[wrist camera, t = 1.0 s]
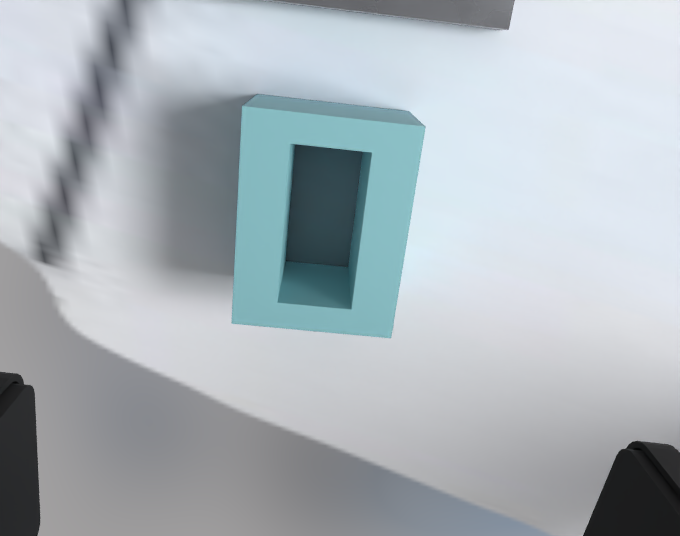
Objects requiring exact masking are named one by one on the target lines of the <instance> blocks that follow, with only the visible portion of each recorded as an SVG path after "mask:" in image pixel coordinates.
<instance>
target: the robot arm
mask: <svg viewBox="0 0 680 536" xmlns="http://www.w3.org/2000/svg"><path fill="white" fill-rule="evenodd" d="M39 526H40V503H39V480H38V458H37V436H36V414H35V393H34V389H33V387H32V386H31V385H24V382H23V379H22V377H21V375H19V374H13V373H5V372H0V536H37V535H38V531H39ZM583 536H680V453H679V451H678V450H677V449H675V448H674V447H673V446H671V445H668V444H660V443H650V442H641V441H635V442H632V443H630V444H629V445H628V447H627V448H626V449H622V450H621V451H619V453H618V454H617V456H616V458H615V461H614V463H613V466H612V468H611V470H610V473H609V475H608V478H607V480H606V482H605V485H604V487H603V489H602V492H601V494H600V497H599V499H598V501H597V504H596V506H595V508H594V511H593V513H592V516H591V518H590V520H589V523H588V525H587V528H586V530H585V532H584V535H583Z"/></svg>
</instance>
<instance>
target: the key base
mask: <svg viewBox="0 0 680 536" xmlns="http://www.w3.org/2000/svg"><path fill="white" fill-rule="evenodd" d="M262 1H270V2H278V3H286V4H294V5H302V6H310V7H319V8H327V9H335V10H343V11H351V12H359V13H367V14H375V15H384V16H392V17H400V18H408V19H416V20H424V21H432V22H440V23H448V24H457V25H465V26H473V27H481V28H489V29H497V30H509V25H510V20H511V15H512V10H513V5H514V1H515V0H262Z"/></svg>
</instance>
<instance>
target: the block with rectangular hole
mask: <svg viewBox="0 0 680 536" xmlns="http://www.w3.org/2000/svg"><path fill="white" fill-rule="evenodd" d="M424 133H425V126H424V125H423V124H422V123H421V122H420V121H419V120H418V119H417V118H416V117H415V116H413V115H412V114H411V113H410V112H409V111H402V110H393V109H384V108H375V107H367V106H358V105H349V104H340V103H332V102H323V101H314V100H305V99H297V98H288V97H279V96H270V95H262V94H257V95H256V96H254V97H253V98H252V99H251V100H249V101H248V102H247V103H245V104H244V105H243V106H242V119H241V140H240V160H239V181H238V202H237V222H236V243H235V264H234V284H233V305H232V324H242V325H253V326H264V327H275V328H286V329H297V330H308V331H319V332H329V333H340V334H351V335H362V336H373V337H384V338H391V335H392V329H393V323H394V317H395V311H396V305H397V298H398V292H399V286H400V280H401V274H402V268H403V262H404V256H405V249H406V243H407V237H408V231H409V225H410V219H411V213H412V206H413V200H414V194H415V188H416V182H417V176H418V170H419V164H420V157H421V151H422V145H423V139H424ZM295 144H299V145H308V146H317V147H326V148H335V149H344V150H353V151H362V152H363V153H362V161H361V169H360V177H359V185H358V192H357V200H356V208H355V216H354V224H353V232H352V240H351V248H350V256H349V264H348V267H342V266H332V265H322V264H312V263H302V262H291V261H286V251H287V239H288V226H289V214H290V202H291V190H292V178H293V166H294V154H295Z"/></svg>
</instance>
